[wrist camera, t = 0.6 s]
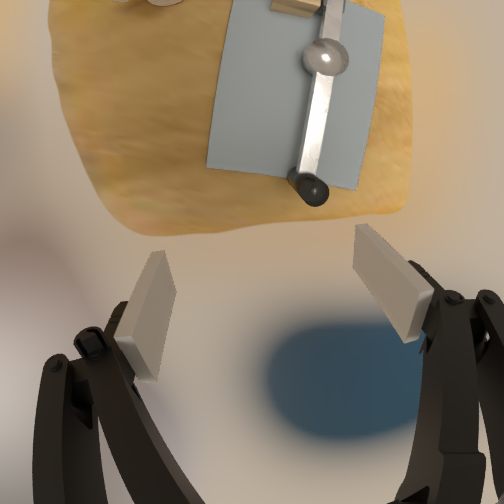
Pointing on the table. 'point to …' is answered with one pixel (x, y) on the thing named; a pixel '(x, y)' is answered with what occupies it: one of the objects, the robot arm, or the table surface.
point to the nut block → (296, 7)
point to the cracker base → (292, 93)
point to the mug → (157, 2)
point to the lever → (319, 101)
